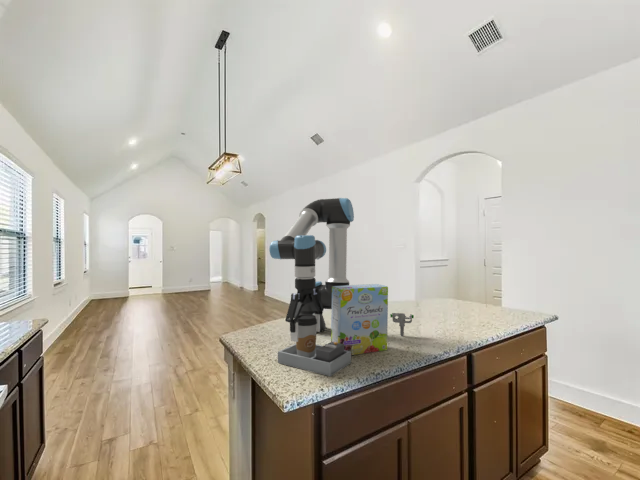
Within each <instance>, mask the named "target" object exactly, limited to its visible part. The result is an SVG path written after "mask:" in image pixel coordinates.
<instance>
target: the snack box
mask: <svg viewBox="0 0 640 480" xmlns="http://www.w3.org/2000/svg"><path fill="white" fill-rule="evenodd" d="M388 305H389V287H388V285H383V284H379V283H371V284H349V285H347V286H332V309H331V318H330V319H331V322H330V328H331V329H330V333H331V334H330V337H331V338H330V342H337V343H340V344H344V350H346V351H351V356H355V355H357V356H358V355H362V354H367V353H369V354H370V353H376V352H383V351H387V350H388V322H389V320H388V319H389V318H388V312H389V309H388V308H389V306H388Z"/></svg>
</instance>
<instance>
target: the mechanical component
mask: <svg viewBox="0 0 640 480" xmlns="http://www.w3.org/2000/svg"><path fill="white" fill-rule="evenodd" d="M389 316H390V317H389V318H392V322H393V323H395V324H396V323H397V324H399V325H398V326H399V330H400V333H399V335H400V337H404V335H405V331H404V330H405V329H404V328H405V326H406V325H405V324H411V323H412V321H413V319H414V314H409V316H407V315H406V313H403V312H392V313H390V314H389ZM396 317H398V318H396Z"/></svg>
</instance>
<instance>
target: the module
mask: <svg viewBox="0 0 640 480" xmlns="http://www.w3.org/2000/svg"><path fill="white" fill-rule="evenodd" d="M321 346H322V347H320V348H318V349H316V360H320V361H325V362H329V363H330V362H331V361H333V360H335V359H336V358H338V357H340V356H342V355H343V354H344V344H340V343H337V342H331V341H330V342H329V343H326V344H324V345H321Z"/></svg>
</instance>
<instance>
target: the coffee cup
mask: <svg viewBox="0 0 640 480" xmlns="http://www.w3.org/2000/svg"><path fill="white" fill-rule="evenodd" d="M296 322H297V323H298V342H295V344H296V348H297V355H299V356H303V357H307V358H311V357H313V356H315V348H316V345H317V333H316V327H317V319H316V316H314V315H299V317H298V319H297V321H296Z"/></svg>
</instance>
